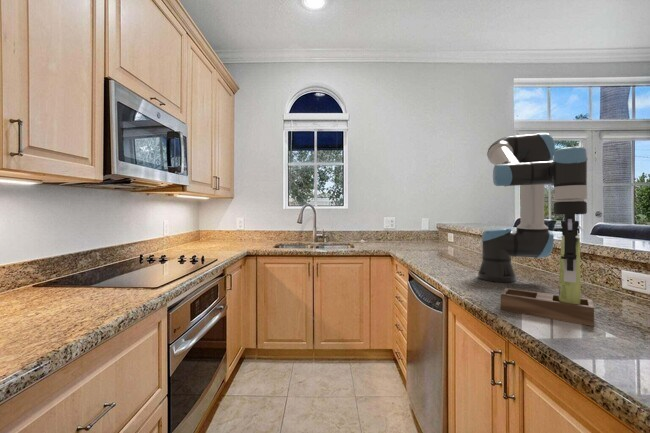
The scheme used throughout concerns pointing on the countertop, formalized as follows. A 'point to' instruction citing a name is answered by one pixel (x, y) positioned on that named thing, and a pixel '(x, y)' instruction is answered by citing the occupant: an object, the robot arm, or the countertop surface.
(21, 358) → the countertop surface
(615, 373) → the countertop surface
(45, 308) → the countertop surface
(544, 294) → the brown wooden slotted holder
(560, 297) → the tube
